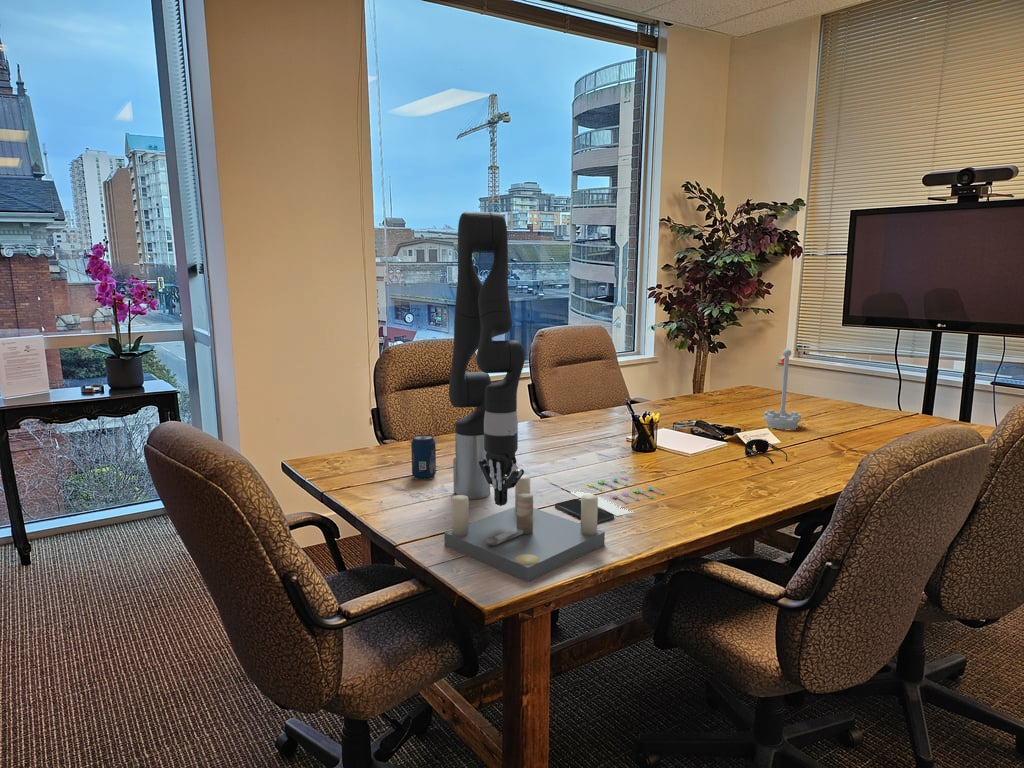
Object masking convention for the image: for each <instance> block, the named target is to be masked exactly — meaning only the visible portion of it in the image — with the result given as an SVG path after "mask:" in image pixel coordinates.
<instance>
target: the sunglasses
mask: <svg viewBox="0 0 1024 768" xmlns="http://www.w3.org/2000/svg"><path fill="white" fill-rule="evenodd" d="M769 448H770V449H772V450H774V451H776V452H778V451H780V452H782V453H783V454H784V455H785V462H788V454H787V452H785V451H784V450H783V449H781V448H779V447H777V446H776V445H774V444H772V443H770V442H769V441H768V440H766V439H762V438H754V439H750V440H748V441H747V442H746V443H745V447H744V454H745V456H746V455H748V454H750V455H759V456H762V457H765V458H767V459H768V460H769V461H770V463H771V464H773V463H774V464H775V462H774V461H773V460H772V458H770V456H767V455H764V454H763V453H758V452H765V453H767V452H768V450H769ZM754 449H755V450H754ZM748 456H749V455H748Z"/></svg>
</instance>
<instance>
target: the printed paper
mask: <svg viewBox="0 0 1024 768" xmlns="http://www.w3.org/2000/svg"><path fill="white" fill-rule="evenodd" d="M622 478H623V479H622ZM622 478H621V481H620V480H619V479H618V478H611V480H612V481H611V480H609V481H608V480H606V479H605V480H604V479H601V480H597V483H599V484H601V485H606V486H610V487H611V488H612V489H614V490H616V489H617V490H620V487H618V486H614V485H613V484H610V483H609V482H617V483H619V484H623V485H625V486H627V485H628V483H626V482H622V480H624V479H625V480H624V481H629V480H630V481H629V482H631V481H632V482H631V483H633V484H634V485H639V484H640V483H639V482H635V481H633V480H631V479H630V478H629V477H622ZM637 483H638V484H637ZM584 486H587V487H588V488H595V489H596V490H598V491H599V492H602V491H604V489H603V488H599V487H597V486H596V485H595V484H593V483H591V482H589V483H587V484H584ZM590 486H591V487H590ZM646 489H647V490H646ZM656 489H658V488H657V487H655V488H654V487H653V486H651V487H645V488H644V489H638V488H635V489H632V492H633V493H635V492H636V493H635V494H641V495H645V496H646V497H648V499H655V498H656V496H654V495H650V494H648V493H645V491H653V492H654V493H657V494H658V493H659V494H662V495H664V494H665V492H664V491H662V492H661V491H659V490H656ZM580 490H581V489H580ZM580 490H579V491H580ZM570 494H572V495H573V496H576V497H578V498H580V499H581V497H582V496H583V495H594V494H592V493H590V492H588V493H584V492H578V491H577V492H576V493H574V491H573V492H571V493H570ZM619 495H623V496H624V497H630V498H631V499H633V500H634V501H638V502H639V501H640V499H639V497H637V498H636V497H634V496H632V495H631V494H629V493H627V492H625V491H623V493H621V494H617V495H615V494H614V495H612V494H611V496H610V494H609V495H606V496H608V498H611V499H618V500H619V501H622V502H623V503H624V504H626V503H628V504H629V503H630V501H627V500H624V499H622V498H621V497H618V496H619ZM630 495H631V496H630ZM596 496H597V497H598V508H600V509H602V510H604V511H607V512H609V513H611V514H613V515H614V516H616V517H619V516H623V515H629V514H632V513H634V512H633V511H634V510H633V511H632V512H631V511H630V512H629V511H628V509H629V508H628V509H627V510H626V509H625V510H624V508H623V509H622V508H621V506H622V505H620V506H619V508H618V507H617V505H616V506H615V505H614V503H615V502H612V501H610V500H608V499H605V498H603V497H601V496H599V495H596ZM604 499H605V500H604ZM635 499H636V500H635ZM607 500H608V502H607ZM609 501H610V502H609ZM611 502H612V503H613V504H612V503H611ZM610 503H611V504H610ZM616 507H617V508H616ZM620 508H621V509H620Z"/></svg>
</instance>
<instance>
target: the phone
mask: <svg viewBox="0 0 1024 768" xmlns="http://www.w3.org/2000/svg"><path fill="white" fill-rule="evenodd" d="M554 508H555V509H556V510H558V509H559V511H560V510H561V512H562V513H563V512H564V514H565V513H566V514H567V515H569V516H571V517H573V518H575V517H576V518H575V519H577V518H578V520H580V521H581V499H579V498H572V499H568V500H565V501H560V502H556V503H555V504H554ZM614 519H615V515H614V514H612V513H610V512H608V511H606V510H604V509H602V508H600V507H598V513H597V525H599V524H603V523H604V522H610V521H612V520H613V521H614Z"/></svg>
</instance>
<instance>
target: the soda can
mask: <svg viewBox="0 0 1024 768" xmlns="http://www.w3.org/2000/svg"><path fill="white" fill-rule="evenodd" d="M412 438H413V439H412V441H411V445H410V446H411V451H410V452H411V474H412V476H413V478H414V479H415V478H416V479H415V480H418V479H420V480H419V481H427V480H426V479H428V480H432V479H434V477H435V476H436V474H437V458H436V457H437V454H436V453H437V452H436V450H437V449H436V440H435V439H434V435H431V434H417V435H414V436H413V437H412ZM431 478H432V479H431Z"/></svg>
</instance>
